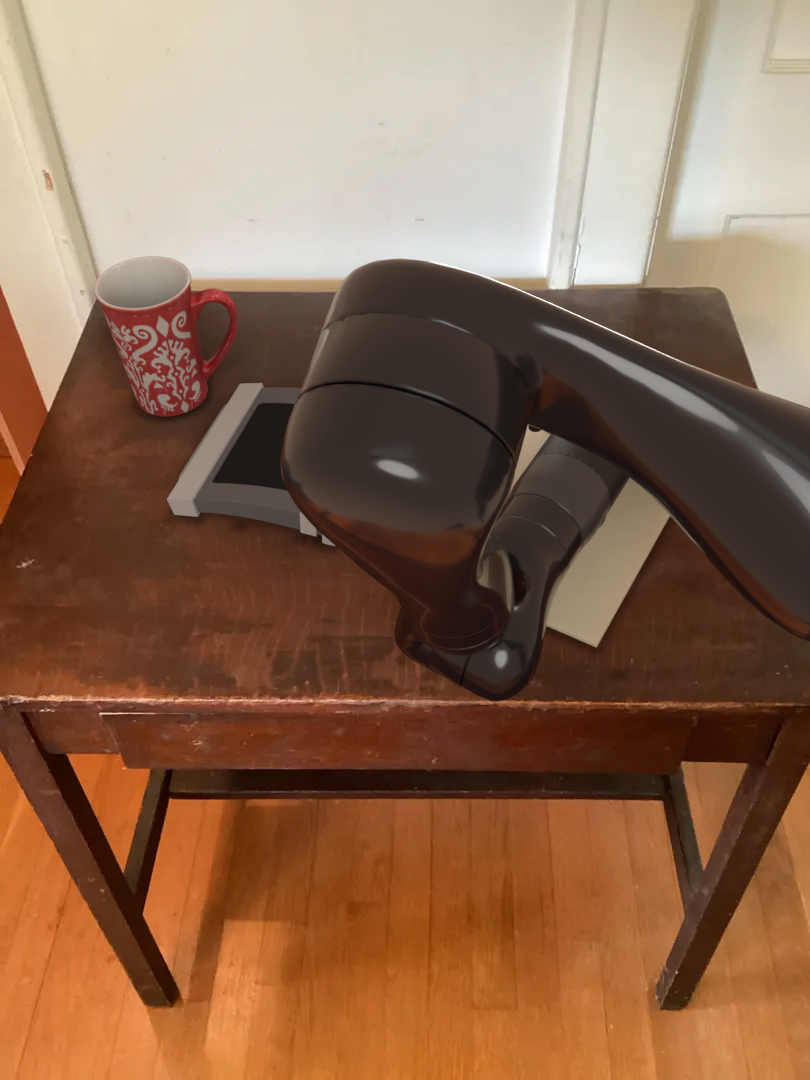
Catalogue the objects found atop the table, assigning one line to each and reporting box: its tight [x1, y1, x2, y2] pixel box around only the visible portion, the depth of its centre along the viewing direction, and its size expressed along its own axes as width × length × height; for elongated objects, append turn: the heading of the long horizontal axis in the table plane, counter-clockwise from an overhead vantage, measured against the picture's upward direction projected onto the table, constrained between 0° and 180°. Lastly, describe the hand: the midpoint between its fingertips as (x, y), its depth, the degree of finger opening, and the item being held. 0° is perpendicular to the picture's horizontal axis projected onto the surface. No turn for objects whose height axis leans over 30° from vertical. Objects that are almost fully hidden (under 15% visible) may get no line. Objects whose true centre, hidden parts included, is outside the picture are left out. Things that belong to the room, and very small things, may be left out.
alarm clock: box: [166, 382, 336, 547], centre depth 89 cm, size 17×5×16 cm
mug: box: [93, 255, 239, 418], centre depth 93 cm, size 13×9×14 cm
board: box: [509, 425, 671, 648], centre depth 86 cm, size 18×28×1 cm, turn 149°
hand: (641, 379), depth 86 cm, fingers open, 4 cm apart
